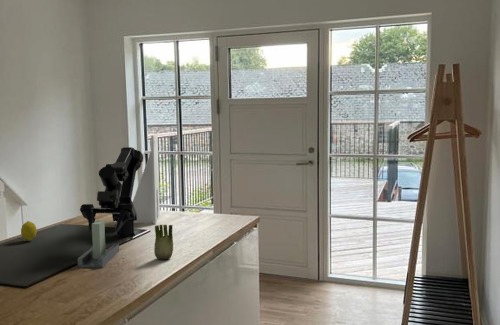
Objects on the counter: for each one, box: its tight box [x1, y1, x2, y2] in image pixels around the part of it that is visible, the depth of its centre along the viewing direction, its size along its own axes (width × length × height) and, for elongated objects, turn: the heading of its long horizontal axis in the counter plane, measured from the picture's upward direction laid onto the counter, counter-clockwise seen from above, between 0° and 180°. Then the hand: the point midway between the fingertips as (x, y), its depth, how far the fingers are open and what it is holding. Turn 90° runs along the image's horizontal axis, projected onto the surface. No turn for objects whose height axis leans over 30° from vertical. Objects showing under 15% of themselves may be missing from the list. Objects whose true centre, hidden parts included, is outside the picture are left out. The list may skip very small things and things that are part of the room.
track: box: [77, 242, 120, 269], centre depth 158 cm, size 18×8×3 cm, turn 179°
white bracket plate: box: [132, 133, 160, 226], centre depth 216 cm, size 20×14×40 cm
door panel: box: [91, 220, 106, 259], centre depth 157 cm, size 5×2×12 cm, turn 179°
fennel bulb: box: [153, 224, 174, 260], centre depth 157 cm, size 6×5×12 cm
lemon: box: [20, 220, 37, 242], centre depth 181 cm, size 6×6×8 cm
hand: (103, 231), depth 162 cm, fingers open, 9 cm apart
